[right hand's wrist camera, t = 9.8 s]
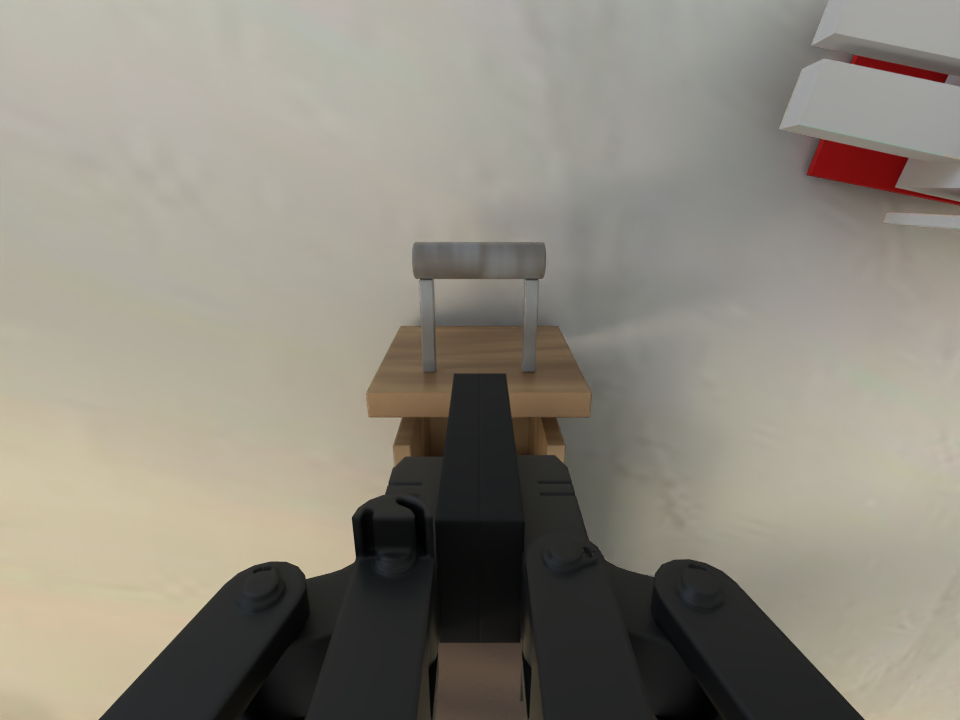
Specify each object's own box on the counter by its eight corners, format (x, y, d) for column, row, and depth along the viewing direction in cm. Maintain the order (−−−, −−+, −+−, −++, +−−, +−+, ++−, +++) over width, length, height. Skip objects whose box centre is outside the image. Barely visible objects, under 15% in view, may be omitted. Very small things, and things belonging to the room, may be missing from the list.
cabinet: (400, 444, 35) (362, 573, 24) (558, 444, 35) (595, 573, 24) (411, 625, 40) (385, 797, 29) (547, 625, 40) (573, 797, 29)
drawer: (394, 225, 29) (353, 251, 19) (564, 225, 29) (604, 251, 19) (411, 529, 36) (387, 653, 27) (547, 529, 36) (570, 653, 27)
